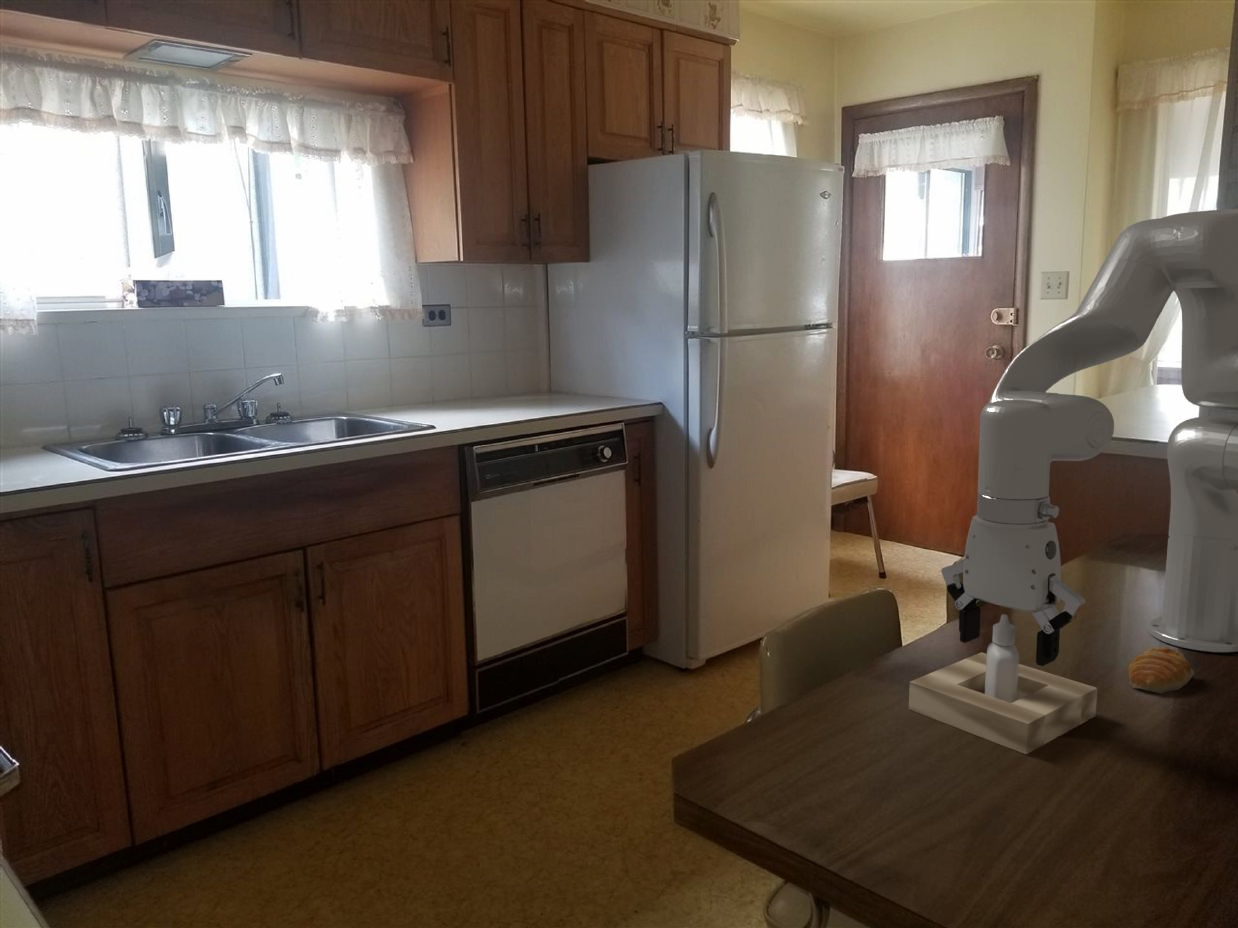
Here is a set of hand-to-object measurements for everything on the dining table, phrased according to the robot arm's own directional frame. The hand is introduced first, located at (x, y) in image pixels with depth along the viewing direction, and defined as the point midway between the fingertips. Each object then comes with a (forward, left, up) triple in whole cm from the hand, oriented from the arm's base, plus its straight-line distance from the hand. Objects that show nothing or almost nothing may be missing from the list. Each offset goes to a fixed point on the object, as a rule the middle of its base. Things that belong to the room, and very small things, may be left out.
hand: (1006, 650), depth 112 cm
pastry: (-23, +7, -8) cm, 26 cm away
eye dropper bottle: (0, 0, -8) cm, 8 cm away
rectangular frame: (0, 0, -8) cm, 8 cm away
